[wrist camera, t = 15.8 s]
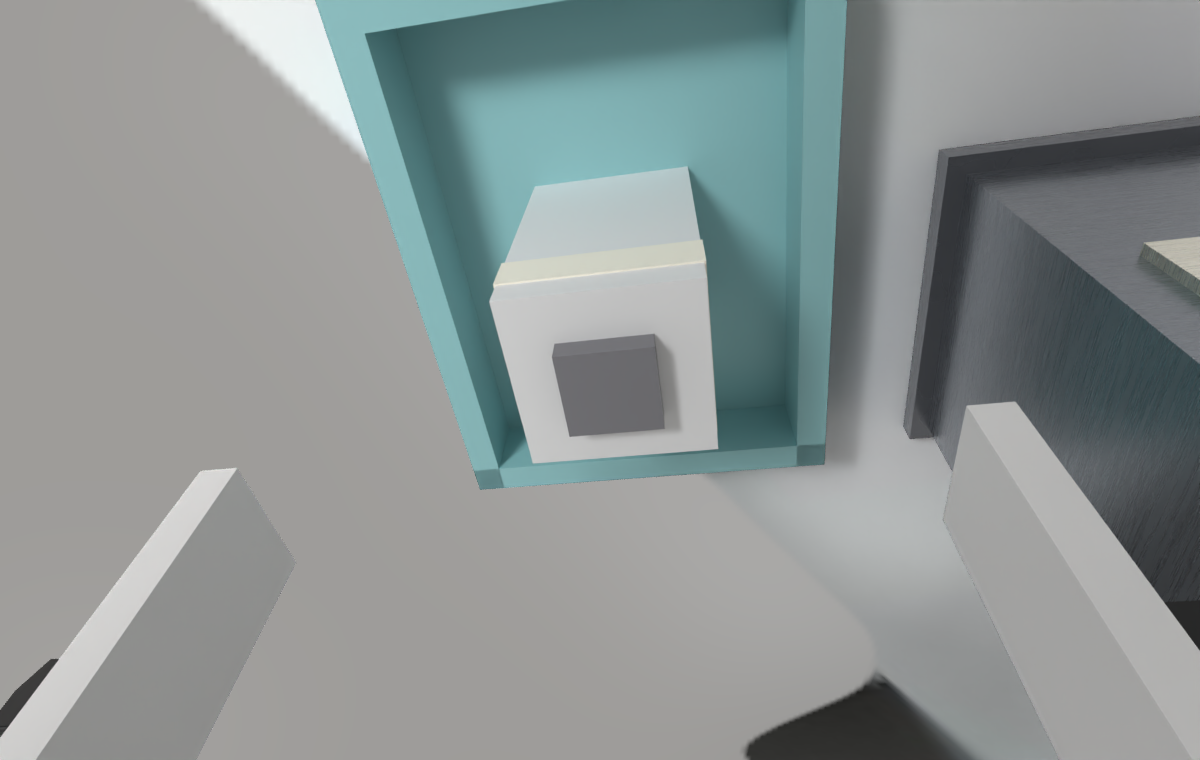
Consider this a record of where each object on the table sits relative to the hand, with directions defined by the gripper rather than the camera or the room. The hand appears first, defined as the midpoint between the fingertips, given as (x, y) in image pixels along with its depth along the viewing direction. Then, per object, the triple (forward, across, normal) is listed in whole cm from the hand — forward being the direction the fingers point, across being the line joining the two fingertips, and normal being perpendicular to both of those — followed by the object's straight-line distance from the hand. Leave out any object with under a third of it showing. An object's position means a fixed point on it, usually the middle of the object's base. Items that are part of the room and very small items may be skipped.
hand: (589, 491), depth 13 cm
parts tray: (+13, 0, -1) cm, 13 cm away
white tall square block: (+13, 0, -1) cm, 13 cm away
